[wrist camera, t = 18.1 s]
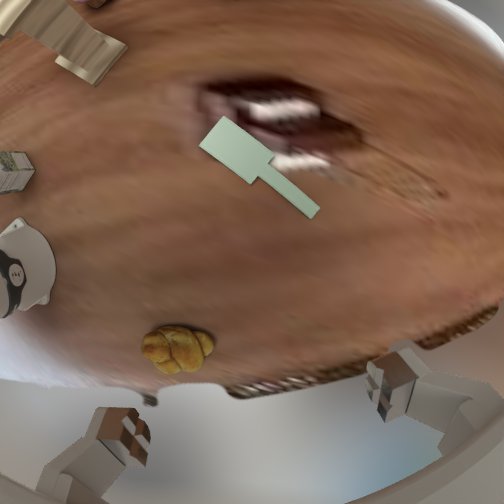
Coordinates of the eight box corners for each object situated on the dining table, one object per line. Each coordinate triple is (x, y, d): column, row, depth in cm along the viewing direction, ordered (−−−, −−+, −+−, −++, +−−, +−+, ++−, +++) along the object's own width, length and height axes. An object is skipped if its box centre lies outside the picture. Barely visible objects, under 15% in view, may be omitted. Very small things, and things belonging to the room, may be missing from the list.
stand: (128, 47, 33) (62, -31, 8) (95, 87, 34) (3, 35, 9) (87, 28, 29) (21, -33, 5) (58, 63, 31) (-25, 21, 6)
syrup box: (11, 172, 36) (-37, 178, 22) (25, 150, 35) (-24, 150, 21) (22, 191, 37) (-27, 201, 23) (36, 169, 37) (-14, 173, 23)
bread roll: (214, 321, 48) (213, 347, 41) (214, 362, 51) (214, 389, 43) (146, 318, 47) (135, 342, 39) (152, 358, 50) (144, 384, 42)
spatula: (323, 198, 44) (326, 199, 42) (301, 225, 45) (304, 227, 43) (223, 117, 39) (223, 115, 37) (199, 146, 40) (198, 145, 38)
